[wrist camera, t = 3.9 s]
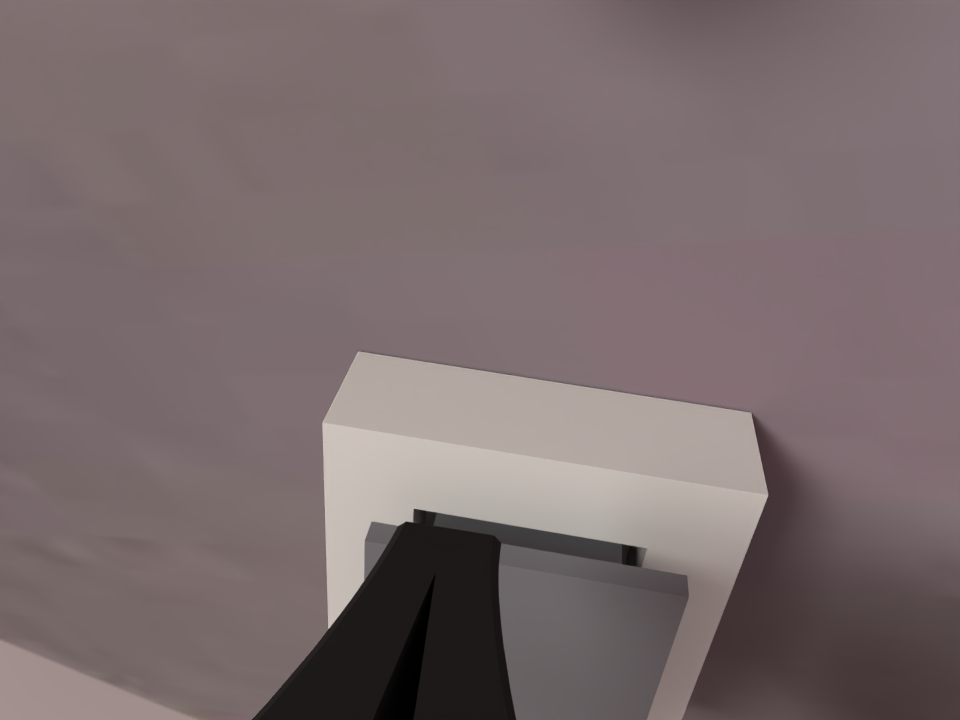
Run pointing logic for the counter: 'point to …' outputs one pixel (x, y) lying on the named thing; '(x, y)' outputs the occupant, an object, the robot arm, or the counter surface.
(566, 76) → the counter surface
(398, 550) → the robot arm
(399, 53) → the counter surface
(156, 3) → the counter surface
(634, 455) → the box
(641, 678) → the switch
